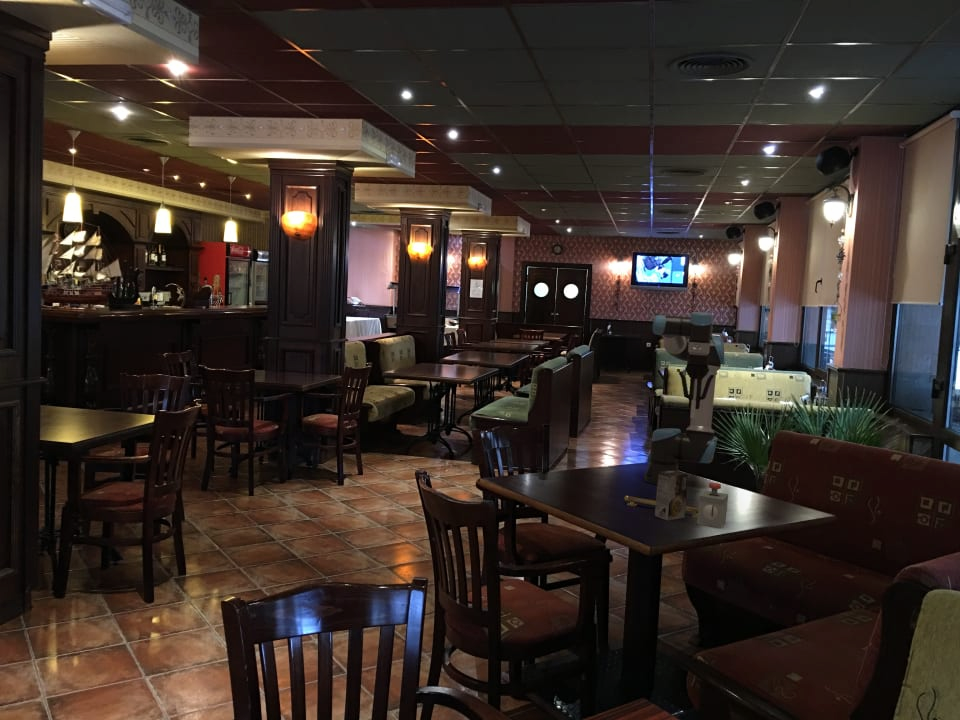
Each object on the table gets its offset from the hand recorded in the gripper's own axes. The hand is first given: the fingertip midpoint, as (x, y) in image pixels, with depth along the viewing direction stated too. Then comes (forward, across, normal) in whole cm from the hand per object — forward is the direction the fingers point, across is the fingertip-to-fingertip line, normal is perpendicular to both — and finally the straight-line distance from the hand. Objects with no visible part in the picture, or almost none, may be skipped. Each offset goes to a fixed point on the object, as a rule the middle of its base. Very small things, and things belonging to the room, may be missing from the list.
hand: (693, 417), depth 280 cm
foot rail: (+34, -6, -8) cm, 36 cm away
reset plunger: (+26, +12, -14) cm, 32 cm away
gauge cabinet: (+34, +12, -14) cm, 39 cm away
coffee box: (+35, -2, -16) cm, 38 cm away
